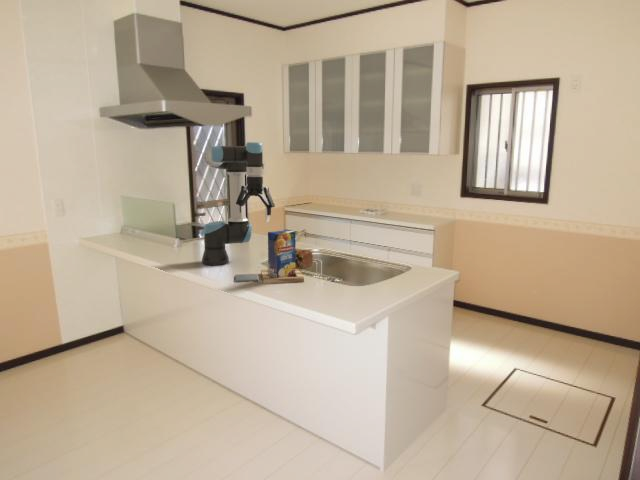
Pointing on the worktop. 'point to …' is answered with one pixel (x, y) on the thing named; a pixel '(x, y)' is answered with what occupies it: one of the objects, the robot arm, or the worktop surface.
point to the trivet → (246, 277)
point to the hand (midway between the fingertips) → (255, 220)
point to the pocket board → (297, 278)
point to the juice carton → (281, 254)
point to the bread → (303, 258)
